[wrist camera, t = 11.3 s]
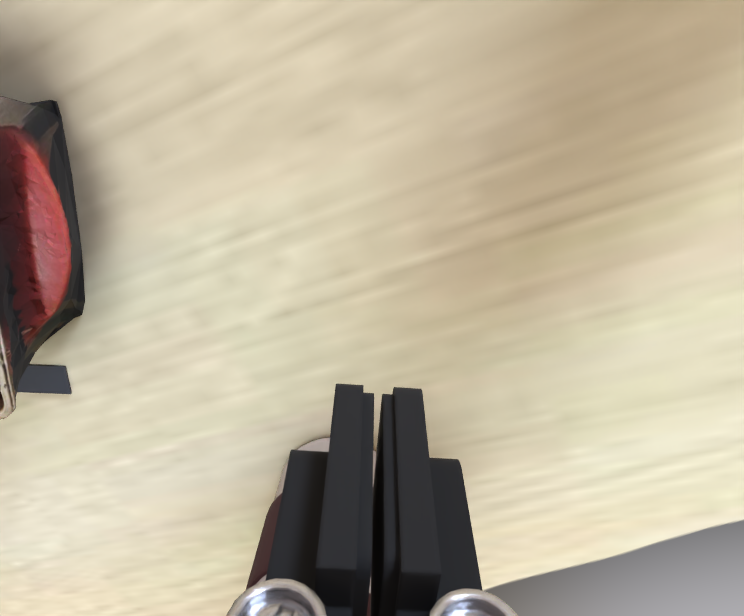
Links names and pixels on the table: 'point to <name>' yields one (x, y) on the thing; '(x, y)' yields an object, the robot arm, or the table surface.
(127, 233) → the table surface
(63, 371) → the tape outline
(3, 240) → the baking dish
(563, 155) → the table surface
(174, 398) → the table surface
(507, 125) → the table surface
